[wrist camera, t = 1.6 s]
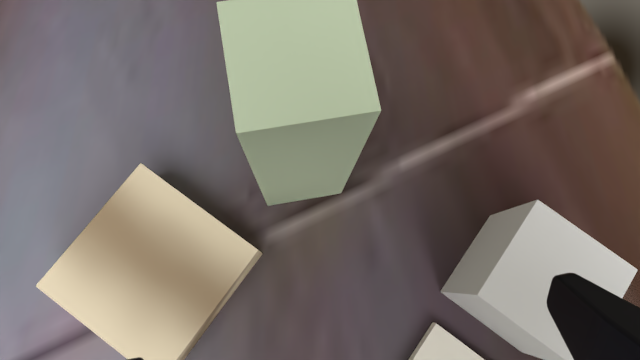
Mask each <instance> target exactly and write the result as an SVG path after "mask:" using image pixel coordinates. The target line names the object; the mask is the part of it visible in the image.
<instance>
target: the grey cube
mask: <svg viewBox="0 0 640 360" xmlns="http://www.w3.org/2000/svg"><path fill="white" fill-rule="evenodd" d="M637 271H638V270H637V269H636V268H635V267H633V266H632V265H630V264H629V263H627V262H626V261H625V260H623V259H622V258H620V257H619V256H617V255H616V254H615V253H613V252H612V251H610V250H609V249H607V248H606V247H605V246H603V245H602V244H600V243H599V242H597V241H596V240H595V239H593V238H592V237H590V236H589V235H588V234H586V233H585V232H583V231H582V230H580V229H579V228H578V227H576V226H575V225H573V224H572V223H570V222H569V221H568V220H566V219H565V218H563V217H562V216H560V215H559V214H558V213H556V212H555V211H553V210H552V209H550V208H549V207H548V206H546V205H545V204H543V203H542V202H541V201H539V200H535V201H532V202H529V203H526V204H523V205H520V206H517V207H514V208H511V209H508V210H505V211H502V212H499V213H496V214H493V215H490V216H489V218H488V219H487V221H486V222H485V224H484V225H483V227H482V228H481V230H480V231H479V233H478V234H477V236H476V238H475V239H474V241H473V242H472V244H471V245H470V247H469V248H468V250H467V251H466V253H465V254H464V256H463V257H462V259H461V260H460V262H459V264H458V265H457V267H456V268H455V270H454V271H453V273H452V274H451V276H450V277H449V279H448V280H447V282H446V283H445V285H444V286H443V288H442V290H441V291H440V292H441V293H443V294H444V295H445V296H447V297H448V298H449V299H451V300H452V301H453V302H455V303H456V304H457V305H459V306H460V307H461V308H463V309H464V310H465V311H467V312H468V313H469V314H471V315H472V316H473V317H475V318H476V319H478V320H479V321H480V322H482V323H483V324H484V325H486V326H487V327H488V328H490V329H491V330H492V331H494V332H495V333H496V334H498V335H499V336H500V337H502V338H503V339H504V340H506V341H507V342H508V343H510V344H511V345H512V346H514V347H515V348H517V349H518V350H519V351H521V352H523V353H526V354H529V355H532V356H535V357H538V358H541V359H544V360H574V359H573V357H572V355H571V353H570V351H569V350H568V348H567V346H566V344H565V342H564V340H563V338H562V336H561V334H560V332H559V330H558V328H557V326H556V324H555V322H554V320H553V318H552V317H551V315H550V313H549V310H548V308H547V296H548V293H549V289H550V285H551V281H552V278H553V277H554V276H556V275H559V274H564V273H575V274H577V275H579V276H581V277H583V278H585V279H587V280H589V281H591V282H592V283H594V284H596V285H598V286H600V287H602V288H604V289H605V290H607V291H609V292H611V293H613V294H615V295H617V296H618V297H620V298H623V296H624V294H625V292H626V290H627V289H628V287H629V285H630V283H631V281H632V280H633V278H634V276H635V274H636V272H637Z"/></svg>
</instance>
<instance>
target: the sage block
mask: <svg viewBox="0 0 640 360" xmlns="http://www.w3.org/2000/svg"><path fill="white" fill-rule="evenodd" d="M216 3H217V9H218V16H219V23H220V29H221V36H222V43H223V49H224V56H225V63H226V69H227V76H228V83H229V89H230V96H231V103H232V109H233V116H234V123H235V129H236V134H237V137H238V139H239V141H240V144H241V146H242V148H243V150H244V153H245V155H246V157H247V160H248V162H249V164H250V167H251V169H252V171H253V174H254V176H255V178H256V180H257V183H258V185H259V187H260V190H261V192H262V194H263V197H264V199H265V201H266V203H267V206H270V205H276V204H282V203H288V202H293V201H299V200H305V199H311V198H317V197H322V196H328V195H334V194H340V193H342V191H343V188H344V186H345V184H346V182H347V180H348V178H349V176H350V174H351V172H352V170H353V168H354V166H355V164H356V162H357V160H358V157H359V155H360V153H361V151H362V149H363V147H364V145H365V143H366V141H367V139H368V137H369V135H370V133H371V131H372V129H373V127H374V124H375V122H376V120H377V118H378V116H379V114H380V112H381V107H380V103H379V98H378V94H377V89H376V85H375V81H374V76H373V72H372V67H371V63H370V58H369V54H368V49H367V45H366V41H365V36H364V32H363V27H362V23H361V18H360V14H359V9H358V5H357V1H356V0H229V1H222V2H216Z"/></svg>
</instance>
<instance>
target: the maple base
mask: <svg viewBox="0 0 640 360" xmlns="http://www.w3.org/2000/svg"><path fill="white" fill-rule="evenodd" d="M262 254H263V253H262V252H260V251H259V250H258V249H256V248H255V247H253V246H252V245H251V244H249V243H248V242H247V241H245V240H244V239H243V238H241V237H240V236H239V235H237V234H236V233H235V232H233V231H232V230H230V229H229V228H228V227H226V226H225V225H224V224H222V223H221V222H220V221H218V220H217V219H216V218H214V217H213V216H212V215H210V214H209V213H207V212H206V211H205V210H203V209H202V208H201V207H199V206H198V205H197V204H195V203H194V202H193V201H191V200H190V199H189V198H187V197H186V196H185V195H183V194H182V193H180V192H179V191H178V190H176V189H175V188H174V187H172V186H171V185H170V184H168V183H167V182H166V181H164V180H163V179H162V178H160V177H159V176H157V175H156V174H155V173H153V172H152V171H151V170H149V169H148V168H147V167H145V166H144V165H143V164H141V163H140V164H139V166H138V167H137V168H136V169H135V170H134V171H133V173H132V174H131V175H130V176H129V177H128V179H127V180H126V181H125V182H124V183H123V184H122V186H121V187H120V188H119V189H118V190H117V191H116V193H115V194H114V195H113V196H112V197H111V198H110V200H109V201H108V202H107V203H106V204H105V205H104V207H103V208H102V209H101V210H100V211H99V212H98V214H97V215H96V216H95V217H94V218H93V219H92V221H91V222H90V223H89V224H88V225H87V226H86V228H85V229H84V230H83V231H82V232H81V234H80V235H79V236H78V237H77V238H76V239H75V241H74V242H73V243H72V244H71V245H70V246H69V248H68V249H67V250H66V251H65V252H64V253H63V255H62V256H61V257H60V258H59V259H58V260H57V262H56V263H55V264H54V265H53V266H52V267H51V269H50V270H49V271H48V272H47V273H46V274H45V276H44V277H43V278H42V279H41V280H40V281H39V283H38V284H37V285H36V287H37V288H39V289H40V290H41V291H42V292H44V293H45V294H46V295H47V296H49V297H50V298H51V299H52V300H54V301H55V302H56V303H57V304H59V305H60V306H61V307H62V308H64V309H65V310H66V311H68V312H69V313H70V314H71V315H73V316H74V317H75V318H76V319H78V320H79V321H80V322H81V323H83V324H84V325H85V326H86V327H88V328H89V329H90V330H91V331H93V332H94V333H95V334H96V335H98V336H99V337H100V338H102V339H103V340H104V341H105V342H107V343H108V344H109V345H110V346H112V347H113V348H114V349H115V350H117V351H118V352H119V353H120V354H122V355H123V356H124V357H125V358H127V359H132V358H137V357H141V358H143V359H144V360H184V359H185V358H186V356H187V355H188V354H189V352H190V351H191V350H192V348H193V347H194V346H195V344H196V343H197V341H198V340H199V339H200V337H201V336H202V335H203V333H204V332H205V331H206V329H207V328H208V327H209V325H210V324H211V323H212V321H213V320H214V319H215V317H216V316H217V315H218V313H219V312H220V310H221V309H222V308H223V306H224V305H225V304H226V302H227V301H228V300H229V298H230V297H231V296H232V294H233V293H234V292H235V290H236V289H237V288H238V286H239V285H240V283H241V282H242V281H243V279H244V278H245V277H246V275H247V274H248V273H249V271H250V270H251V269H252V267H253V266H254V265H255V263H256V262H257V261H258V259H259V258H260V256H261V255H262Z"/></svg>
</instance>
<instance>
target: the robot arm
mask: <svg viewBox="0 0 640 360" xmlns="http://www.w3.org/2000/svg"><path fill="white" fill-rule="evenodd" d="M547 308H548V310H549V313H550V315H551V317H552V318H553V320H554V322H555V324H556V326H557V328H558V330H559V332H560V334H561V336H562V338H563V340H564V342H565V344H566V346H567V348H568V350H569V351H570V353H571V355H572V357H573V359H574V360H640V308H639V307H637V306H635V305H633V304H632V303H630V302H628V301H626V300H624V299H622V298H620V297H618V296H617V295H615V294H613V293H611V292H609V291H607V290H605V289H604V288H602V287H600V286H598V285H596V284H594V283H592V282H591V281H589V280H587V279H585V278H583V277H581V276H579V275H577V274H575V273H564V274H559V275H556V276H554V277H553V278H552V281H551V285H550V289H549V293H548V296H547ZM127 360H144V359H143V358H141V357H137V358H132V359H127Z"/></svg>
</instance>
